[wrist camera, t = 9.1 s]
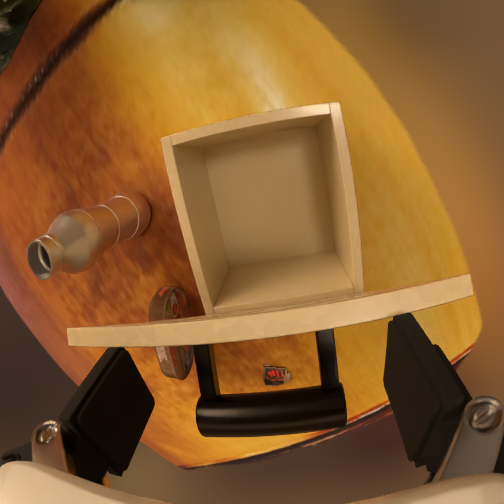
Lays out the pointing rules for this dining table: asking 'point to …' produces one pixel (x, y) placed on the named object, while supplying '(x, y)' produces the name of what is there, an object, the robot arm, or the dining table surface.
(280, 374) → the matchbox
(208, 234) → the bin
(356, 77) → the dining table surface
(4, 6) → the rose bouquet
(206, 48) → the dining table surface
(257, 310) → the bin lid
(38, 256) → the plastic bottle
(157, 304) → the tin
